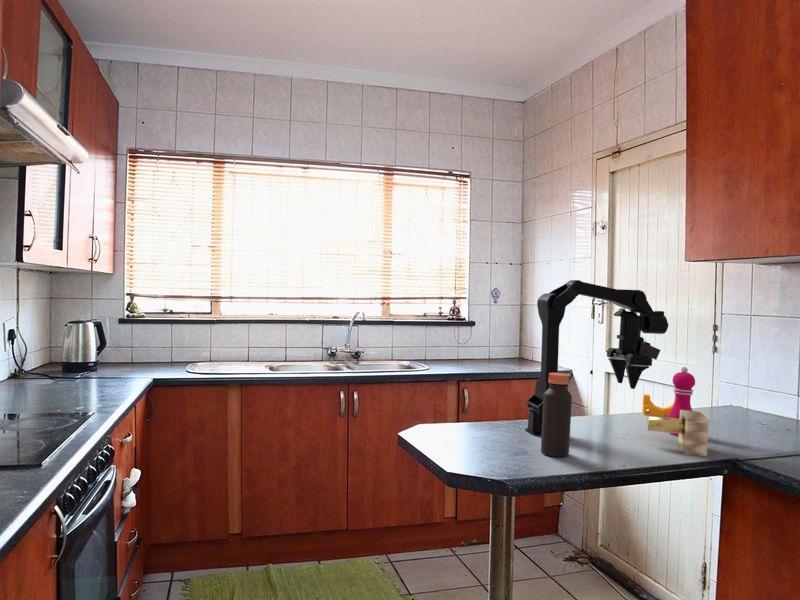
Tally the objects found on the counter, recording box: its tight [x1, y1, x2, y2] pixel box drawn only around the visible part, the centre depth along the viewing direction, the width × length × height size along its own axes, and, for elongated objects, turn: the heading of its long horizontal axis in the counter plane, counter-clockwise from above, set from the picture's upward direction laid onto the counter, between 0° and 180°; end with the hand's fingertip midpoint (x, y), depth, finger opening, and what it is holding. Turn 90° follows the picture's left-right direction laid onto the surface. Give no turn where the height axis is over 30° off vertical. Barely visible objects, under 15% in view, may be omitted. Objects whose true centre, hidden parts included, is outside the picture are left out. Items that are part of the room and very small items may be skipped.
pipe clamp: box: [641, 393, 675, 417], centre depth 195 cm, size 12×4×6 cm, turn 71°
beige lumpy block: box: [677, 410, 710, 457], centre depth 153 cm, size 5×10×10 cm, turn 164°
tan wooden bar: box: [646, 415, 685, 434], centre depth 154 cm, size 13×4×4 cm, turn 74°
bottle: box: [540, 372, 573, 458], centre depth 143 cm, size 7×7×20 cm
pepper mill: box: [667, 366, 696, 437], centre depth 169 cm, size 7×7×20 cm
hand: (626, 385), depth 168 cm, fingers open, 9 cm apart
